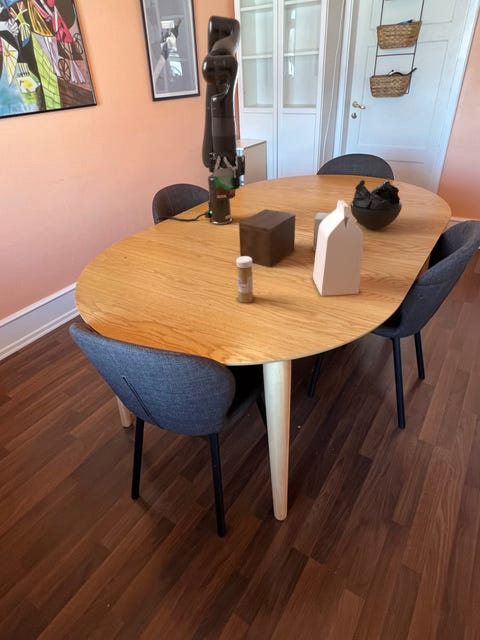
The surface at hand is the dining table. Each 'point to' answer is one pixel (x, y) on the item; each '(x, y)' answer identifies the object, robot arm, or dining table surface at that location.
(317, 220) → the white packaging box
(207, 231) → the dining table surface
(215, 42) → the robot arm
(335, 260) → the milk
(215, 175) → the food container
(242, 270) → the sprinkles bottle
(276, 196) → the dining table surface
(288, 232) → the dark wooden box
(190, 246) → the dining table surface
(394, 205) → the bowl of black rocks
